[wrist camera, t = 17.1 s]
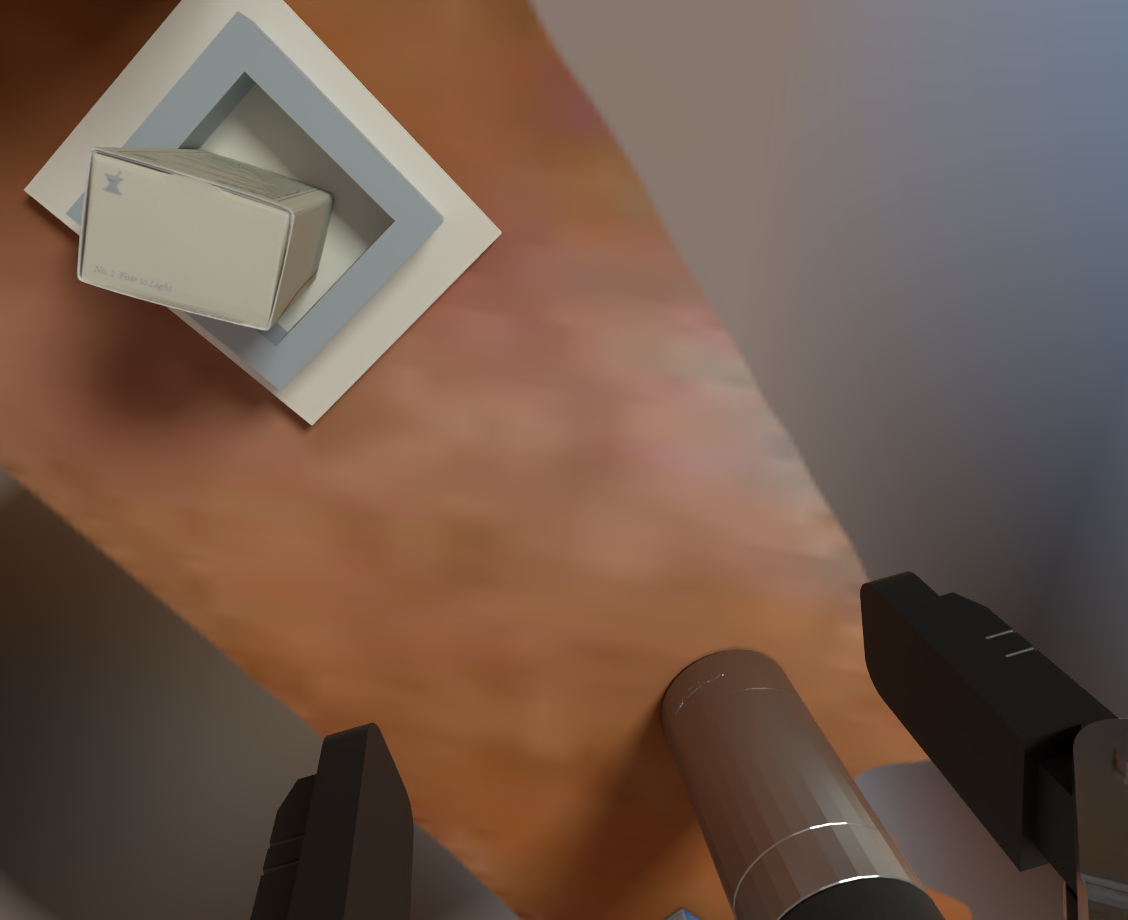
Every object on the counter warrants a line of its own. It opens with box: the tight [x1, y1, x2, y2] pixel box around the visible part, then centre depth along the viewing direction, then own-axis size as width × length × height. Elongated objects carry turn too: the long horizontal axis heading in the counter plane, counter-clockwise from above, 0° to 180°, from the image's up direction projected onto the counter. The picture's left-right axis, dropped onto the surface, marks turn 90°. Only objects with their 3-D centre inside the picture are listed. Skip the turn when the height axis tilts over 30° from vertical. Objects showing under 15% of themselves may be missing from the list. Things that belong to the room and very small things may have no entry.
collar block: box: [24, 0, 502, 425], centre depth 34 cm, size 16×14×4 cm
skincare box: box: [77, 147, 334, 331], centre depth 30 cm, size 6×4×12 cm
